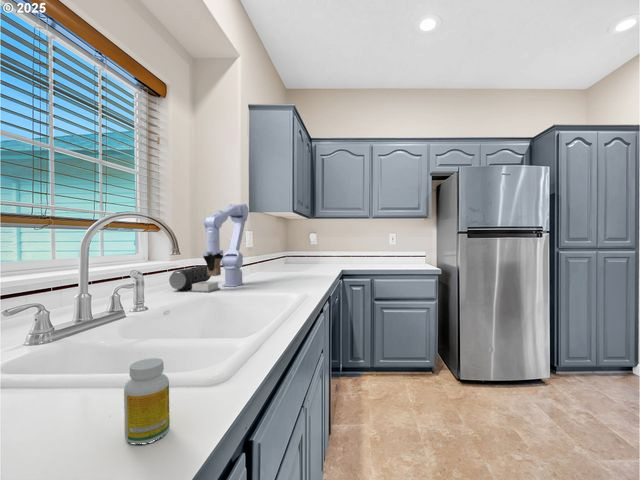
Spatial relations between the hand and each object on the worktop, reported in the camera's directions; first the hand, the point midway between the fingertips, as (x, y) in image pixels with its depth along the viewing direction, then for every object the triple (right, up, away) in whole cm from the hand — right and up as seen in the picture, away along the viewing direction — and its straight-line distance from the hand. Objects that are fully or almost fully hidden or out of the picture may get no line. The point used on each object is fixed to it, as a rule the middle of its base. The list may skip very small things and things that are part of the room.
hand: (213, 270), depth 162 cm
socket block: (-5, -10, +1) cm, 11 cm away
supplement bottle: (+28, -12, -117) cm, 120 cm away
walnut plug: (0, -3, 0) cm, 3 cm away
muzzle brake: (-15, -10, +12) cm, 22 cm away
